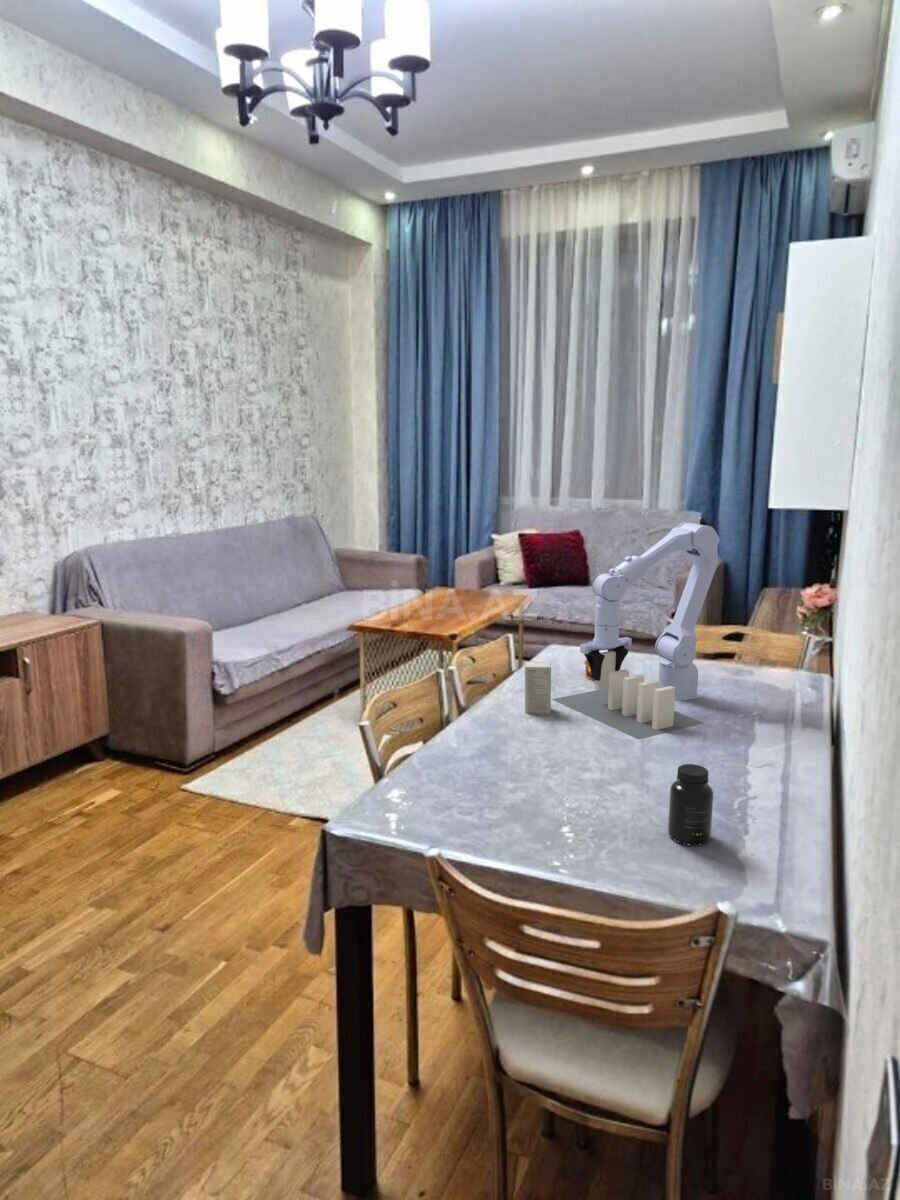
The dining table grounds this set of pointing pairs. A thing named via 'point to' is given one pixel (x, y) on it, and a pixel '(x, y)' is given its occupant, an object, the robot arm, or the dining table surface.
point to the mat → (620, 715)
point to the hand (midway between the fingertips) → (604, 678)
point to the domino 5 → (663, 707)
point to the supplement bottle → (691, 806)
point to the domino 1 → (606, 670)
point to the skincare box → (538, 687)
